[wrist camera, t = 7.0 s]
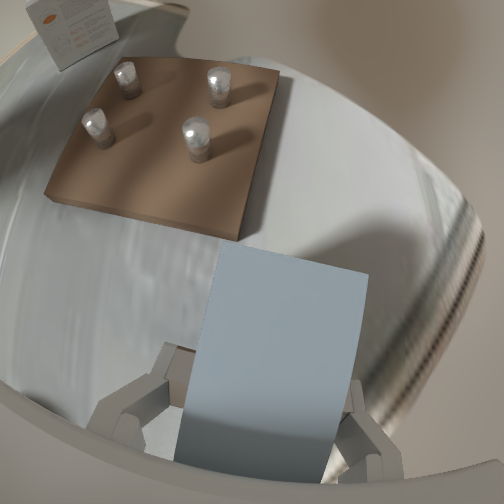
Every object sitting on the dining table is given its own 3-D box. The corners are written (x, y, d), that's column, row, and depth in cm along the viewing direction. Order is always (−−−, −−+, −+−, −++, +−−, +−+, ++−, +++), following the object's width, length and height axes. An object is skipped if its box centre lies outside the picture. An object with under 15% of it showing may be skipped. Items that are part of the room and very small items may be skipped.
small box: (109, 24, 26) (91, -38, 15) (120, 39, 25) (100, -32, 14) (53, 55, 24) (25, -4, 14) (58, 73, 23) (24, 8, 13)
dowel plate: (53, 201, 19) (22, 176, 15) (126, 67, 23) (114, 34, 19) (237, 241, 19) (237, 216, 15) (277, 82, 23) (284, 44, 19)
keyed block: (204, 396, 16) (172, 466, 7) (229, 287, 18) (222, 240, 9) (276, 411, 16) (318, 488, 7) (300, 303, 18) (368, 274, 9)
